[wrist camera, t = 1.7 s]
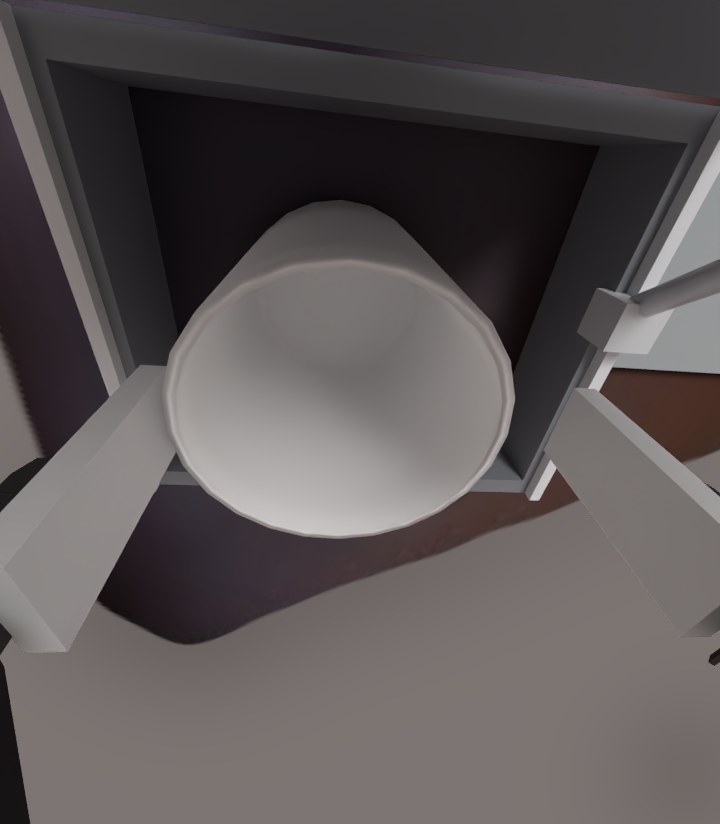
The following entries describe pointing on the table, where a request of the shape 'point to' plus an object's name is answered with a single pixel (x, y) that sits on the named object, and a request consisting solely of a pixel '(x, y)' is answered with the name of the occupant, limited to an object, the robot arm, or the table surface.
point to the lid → (494, 33)
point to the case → (373, 97)
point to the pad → (694, 322)
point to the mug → (337, 380)
